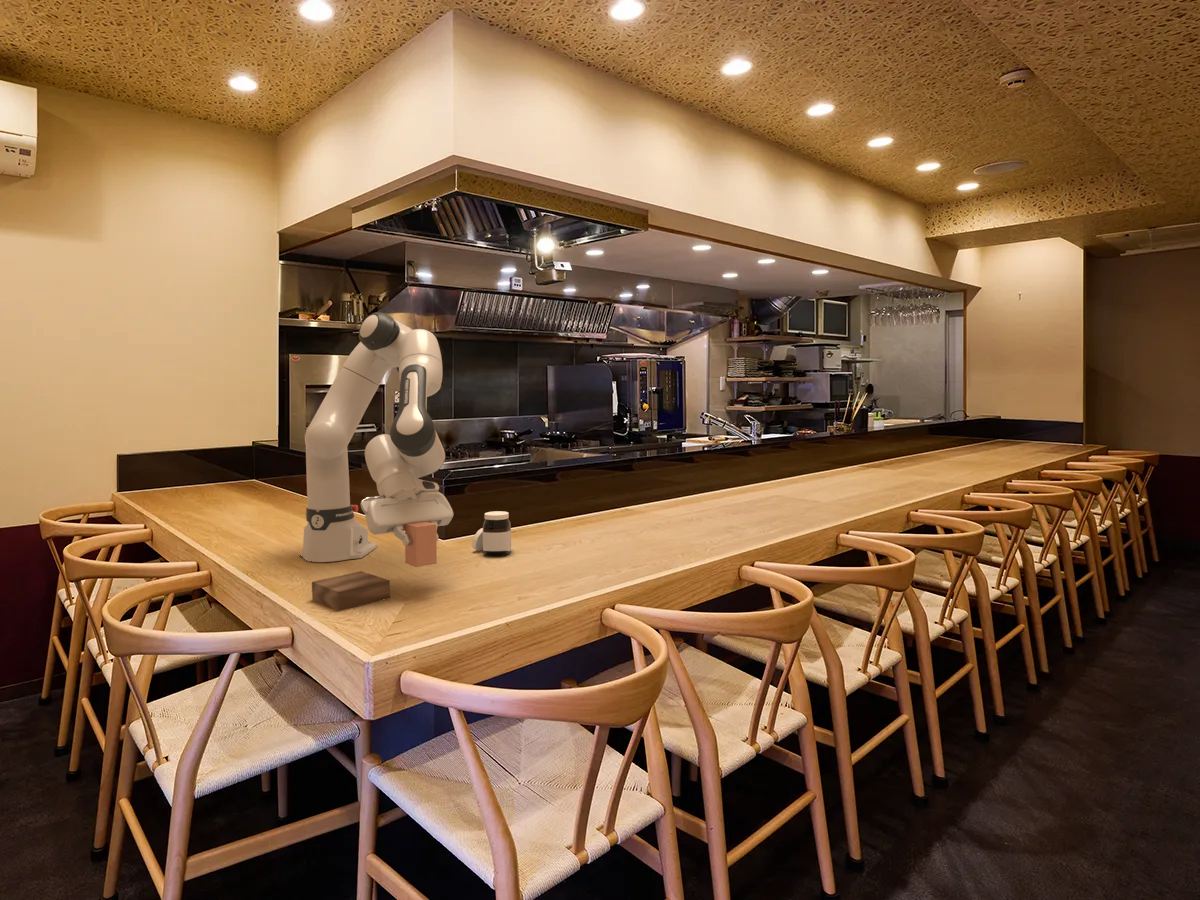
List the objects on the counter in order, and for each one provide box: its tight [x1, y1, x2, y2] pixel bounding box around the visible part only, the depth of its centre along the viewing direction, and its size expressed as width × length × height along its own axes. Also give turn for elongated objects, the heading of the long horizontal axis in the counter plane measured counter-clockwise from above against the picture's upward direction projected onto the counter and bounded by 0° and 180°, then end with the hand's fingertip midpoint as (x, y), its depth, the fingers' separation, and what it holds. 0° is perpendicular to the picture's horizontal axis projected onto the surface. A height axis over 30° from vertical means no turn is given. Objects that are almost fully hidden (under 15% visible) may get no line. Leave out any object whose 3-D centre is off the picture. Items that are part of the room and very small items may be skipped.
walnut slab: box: [311, 571, 391, 612], centre depth 154 cm, size 12×12×4 cm
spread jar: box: [471, 510, 512, 557], centre depth 198 cm, size 12×11×12 cm
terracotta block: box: [404, 522, 438, 568], centre depth 156 cm, size 5×5×9 cm
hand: (422, 542), depth 155 cm, fingers closed on terracotta block, 5 cm apart
